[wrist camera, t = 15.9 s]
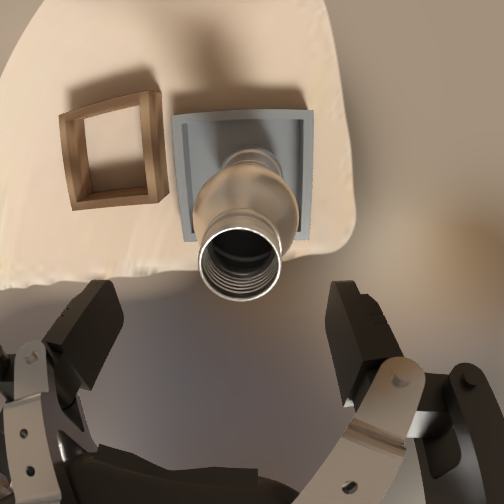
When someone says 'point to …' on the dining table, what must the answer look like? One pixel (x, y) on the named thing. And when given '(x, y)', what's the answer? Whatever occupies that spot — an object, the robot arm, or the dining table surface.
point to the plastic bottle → (244, 224)
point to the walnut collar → (152, 150)
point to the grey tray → (238, 135)
